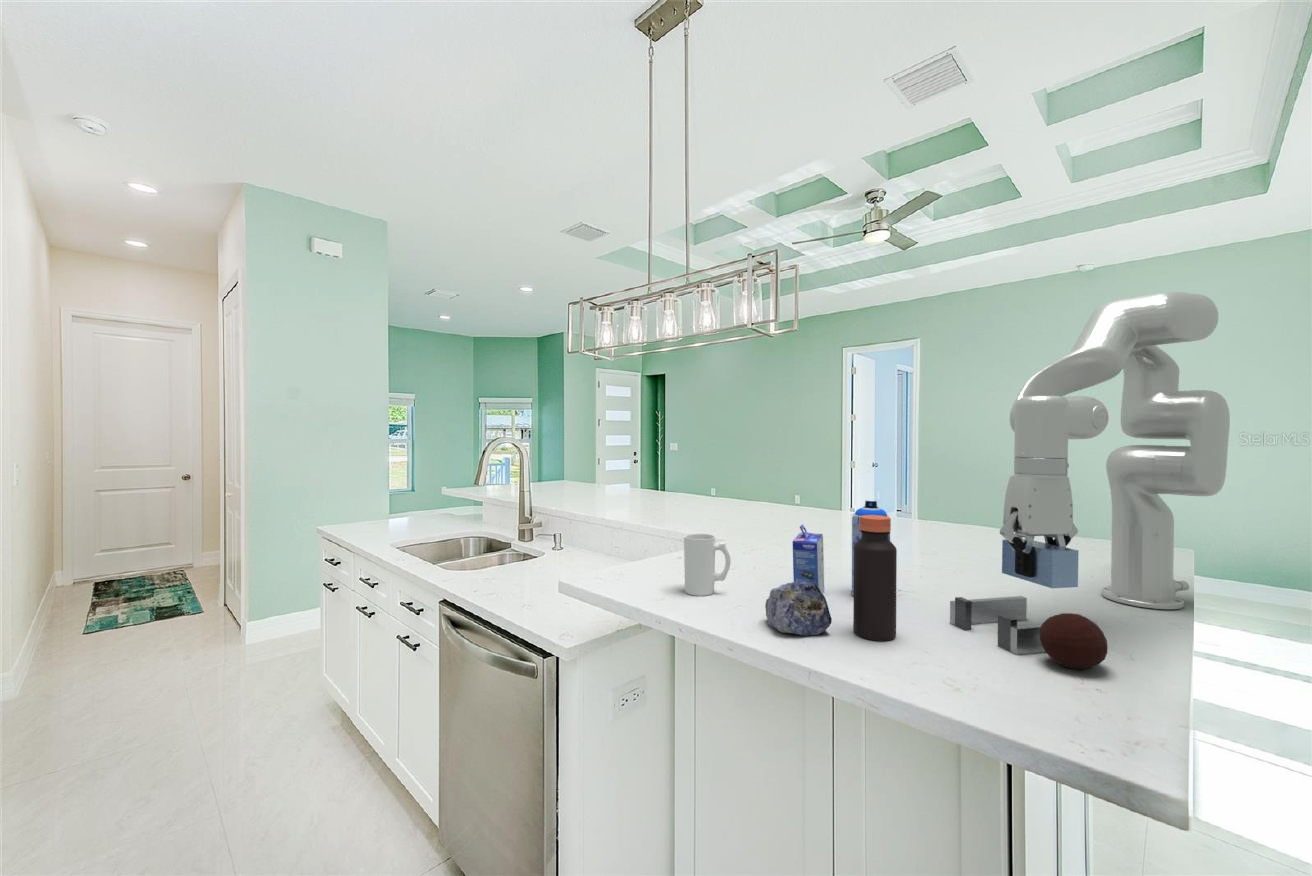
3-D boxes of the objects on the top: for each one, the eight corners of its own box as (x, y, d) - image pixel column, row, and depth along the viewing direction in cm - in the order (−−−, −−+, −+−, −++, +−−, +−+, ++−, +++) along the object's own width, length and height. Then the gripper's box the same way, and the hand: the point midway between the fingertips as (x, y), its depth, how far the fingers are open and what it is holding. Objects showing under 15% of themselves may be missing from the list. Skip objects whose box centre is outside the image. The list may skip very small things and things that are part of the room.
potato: (1023, 659, 84) (1024, 608, 84) (1069, 652, 87) (1070, 603, 87) (1077, 682, 76) (1077, 626, 76) (1126, 674, 79) (1126, 620, 79)
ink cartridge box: (798, 586, 123) (799, 521, 123) (824, 589, 121) (824, 523, 121) (791, 598, 114) (791, 528, 114) (819, 602, 112) (819, 530, 112)
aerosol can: (848, 598, 114) (849, 501, 114) (852, 588, 122) (853, 497, 121) (890, 603, 111) (890, 504, 111) (891, 593, 118) (892, 499, 118)
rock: (845, 620, 94) (814, 568, 95) (797, 655, 91) (766, 601, 92) (816, 613, 104) (789, 566, 105) (773, 643, 102) (745, 595, 102)
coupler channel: (1021, 617, 103) (1021, 590, 103) (1096, 647, 89) (1097, 616, 88) (950, 623, 100) (950, 595, 100) (1016, 654, 86) (1017, 622, 86)
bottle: (887, 645, 90) (888, 521, 89) (846, 634, 94) (847, 517, 94) (902, 633, 95) (902, 516, 94) (862, 624, 99) (863, 512, 99)
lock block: (1025, 572, 100) (1026, 537, 100) (1077, 587, 90) (1078, 549, 90) (1001, 573, 99) (1002, 538, 99) (1052, 588, 89) (1052, 550, 89)
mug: (680, 595, 117) (680, 538, 117) (688, 586, 123) (688, 532, 123) (727, 599, 114) (727, 541, 114) (733, 590, 120) (733, 535, 120)
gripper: (1061, 467, 100) (1060, 567, 100) (980, 467, 96) (978, 571, 97) (1102, 469, 92) (1101, 578, 93) (1015, 469, 89) (1014, 582, 89)
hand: (1038, 573), depth 95 cm, fingers closed on lock block, 5 cm apart
